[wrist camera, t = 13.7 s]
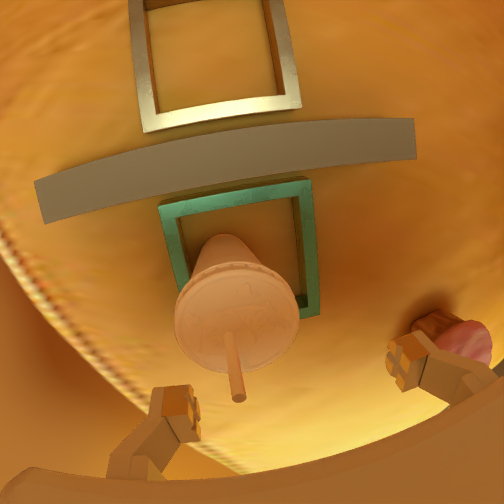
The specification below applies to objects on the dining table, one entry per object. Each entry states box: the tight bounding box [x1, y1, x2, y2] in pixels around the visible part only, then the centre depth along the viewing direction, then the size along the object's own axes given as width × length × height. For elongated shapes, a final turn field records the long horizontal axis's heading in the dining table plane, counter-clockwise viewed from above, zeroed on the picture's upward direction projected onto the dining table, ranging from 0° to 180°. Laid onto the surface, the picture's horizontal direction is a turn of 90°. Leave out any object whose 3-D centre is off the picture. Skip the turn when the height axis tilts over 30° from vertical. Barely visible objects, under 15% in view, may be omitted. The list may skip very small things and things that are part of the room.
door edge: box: [34, 118, 417, 224], centre depth 19 cm, size 26×3×4 cm, turn 98°
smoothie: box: [174, 234, 299, 403], centre depth 17 cm, size 6×6×14 cm
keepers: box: [128, 0, 320, 319], centre depth 20 cm, size 10×27×2 cm, turn 8°
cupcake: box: [411, 309, 492, 366], centre depth 26 cm, size 9×9×10 cm
